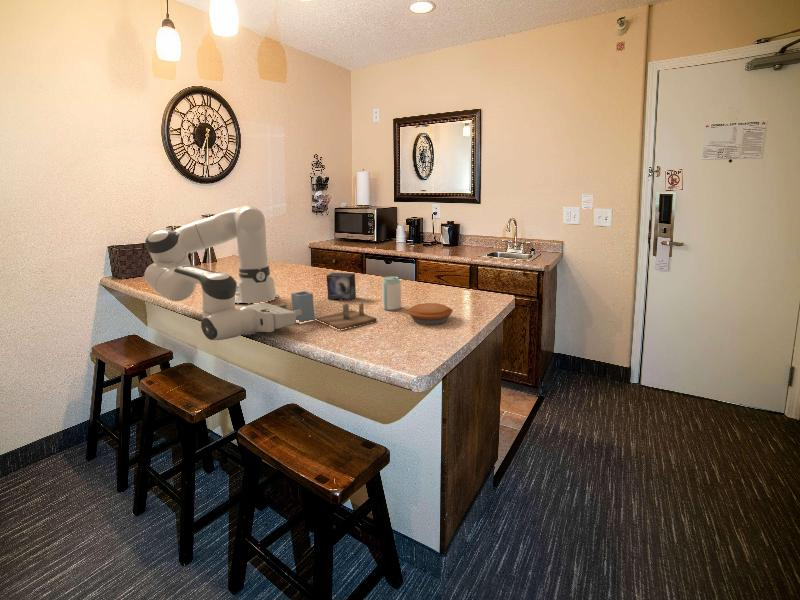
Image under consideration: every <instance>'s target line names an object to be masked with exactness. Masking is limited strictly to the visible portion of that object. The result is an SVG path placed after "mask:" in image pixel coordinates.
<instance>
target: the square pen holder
mask: <svg viewBox="0 0 800 600" xmlns="http://www.w3.org/2000/svg"><path fill="white" fill-rule="evenodd" d="M290 298H291V306H292V307H291V308H292V311H295V309H300V310H301V311H302V314H301V315H298V316H296V320H299V322H304V321H309V320H315V319H316V318H318V317H316V316H315V307H314V306H315V305H314V294H313V292H309V291H306V290H304V291H298V292H293V293H292V292H291V297H290Z"/></svg>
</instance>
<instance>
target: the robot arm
mask: <svg viewBox="0 0 800 600" xmlns="http://www.w3.org/2000/svg"><path fill="white" fill-rule="evenodd" d="M266 232H267V231H266V219H265V215H264V213H263V212H262V210H261V209H259V208H257V207H255V206H252V205H248V204H247V205H242V206H238V207H236V208H233V209H230V210H227V211H224V212H221V213H218V214H216V215H211V216H209V217H205V218H203V219H200V220H196V221H192V222H190V223H187V224H184V225H182V226H180V227H178V228H176V229H174V230H170V229H157V230H154V231H153V232H151V233H149V234H148V236H147V237H146V238H145V241H144V242H145V247H146V250H147V251H148V252H149V256H150V257H151V259H152V261H153V263H151V264H149V265H148V266H147V267H146V269H145V271H144V273H143V274H144V280H145V282H146V283H147V285H148V286H149V287H150V288H151V289H152V290H153V291H155V292H156V293H157V294H159V296H161V297H163V298H165V299H166V300H168V301H171V302H181V301H185V300H187V299H188V298H190V297H191V296H192V295H193V294H194V293H195V291H196V288H197V284H199V285H200V287H201V291H202V319H201V323H200V327H201V331H202V333H203V334H204V337H206V338H207V339H208V340H210V341H222V340H228V339H233V338H236V337H240V336H241V335H243V334H253V333H258V332H260V333H261V332H262V333H263V332H264V333H273V332H274V331H275V330H277V329H281V328H282V329H284V328H285V327H289V326H291V325H294V324H296V323H295V322H296V316H298V315H301V314H302V311H301V310H300V309H295V311H293V310H289V309H287V304H284V303H283V304H271V303H269V302H266V301H270V300H273V299H274V298H275V297H277V296H279V297H280V295H279V293H277V292H276V287H275V281H274V278H273V277H271V276H270V275H271V270H270V266H269V262H268V255H267V254H268V253H267V252H268V251H267V236H266V235H267V233H266ZM234 239H236V240H237V241H236V243H237V250H238V251H237V252H238V262H239V268H238V276H239V277H238V279H237V280H235V279H234V277H233V276H232V275H230V274H228V273H225V272H219V271H213V270H209V269H206V268H203V267H199V266H195V265H192V264H191V262H190V261H191V260H190V259H189V256H188V254H192V253H195V252H200V251H203V250H208V249H210V248H213V247H216V246H219V245H222V244H225V243H228V242H229V241H232V240H234ZM277 298H278V297H277ZM275 299H276V298H275ZM273 301H274V300H273ZM260 302H266V303H260ZM270 302H271V301H270ZM235 303H259V304H247V305H243V306H241V307H240V308H236V304H235Z"/></svg>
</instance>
